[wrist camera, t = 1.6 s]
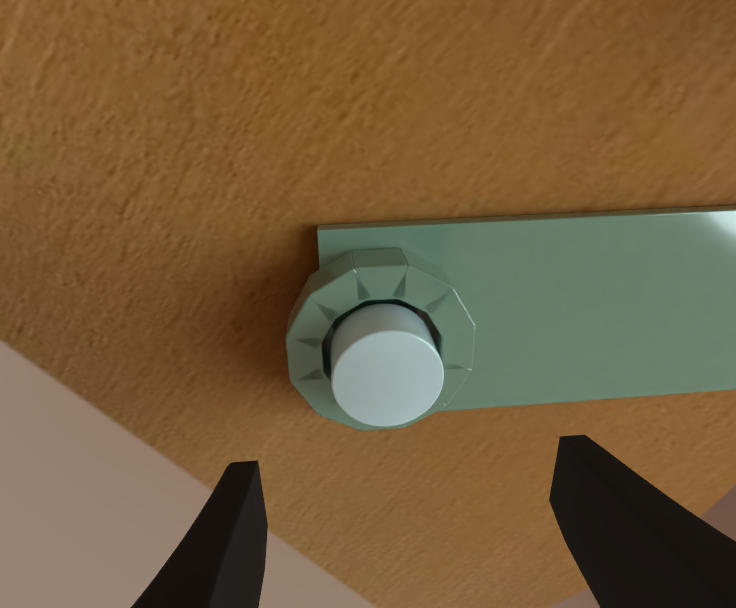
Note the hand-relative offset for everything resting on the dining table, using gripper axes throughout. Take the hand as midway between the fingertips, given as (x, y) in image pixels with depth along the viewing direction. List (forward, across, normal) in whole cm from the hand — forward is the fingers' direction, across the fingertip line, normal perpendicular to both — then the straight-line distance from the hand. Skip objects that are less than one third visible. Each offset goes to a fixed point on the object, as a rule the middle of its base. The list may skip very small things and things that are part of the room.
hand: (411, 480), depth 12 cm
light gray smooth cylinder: (+6, 0, 0) cm, 6 cm away
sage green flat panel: (+8, -7, 0) cm, 11 cm away
